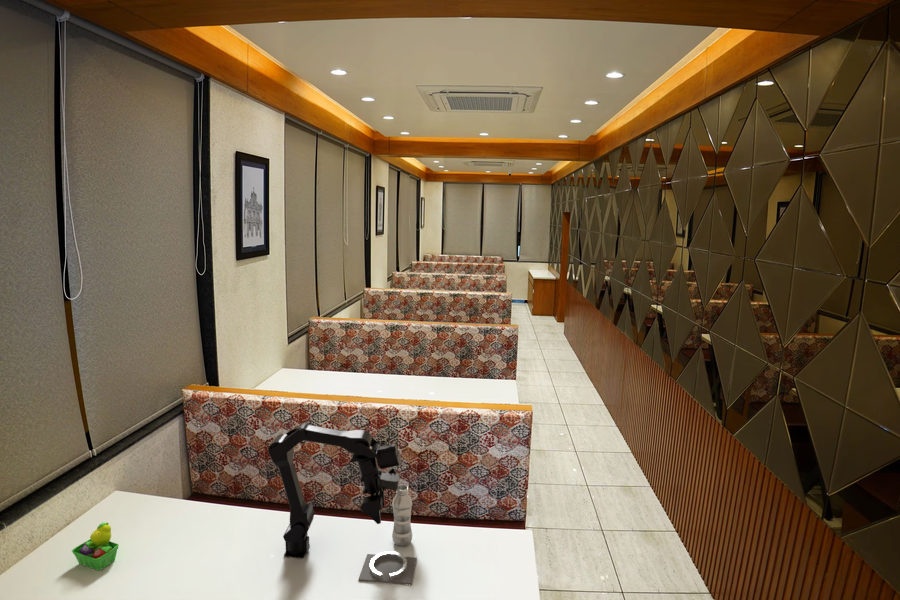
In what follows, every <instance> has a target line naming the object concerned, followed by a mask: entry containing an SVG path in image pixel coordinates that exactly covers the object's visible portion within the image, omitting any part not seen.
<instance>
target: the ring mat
mask: <svg viewBox="0 0 900 600" xmlns="http://www.w3.org/2000/svg"><path fill="white" fill-rule="evenodd" d="M376 555H377V554H370V553H367V554H366V557H365V560H364V561H363V562H364V563H363V565H362V568H361V571H360V573H359V576H358V582H365V583H367V582H369V583H381V584H393V585H394V584H395V585H406V584H408V585H407V586H409V584H410V586H412V584H413V580H414V574H415V572H416V571H415V570H416V565H417V560H418V558H417V557H414V556H404V557H405V558H406V560H407V570H406V573H405V574H404V575H403V576H401V577H400V578H398V579H395V580H392V581H390V580H389V574H391V573H395V572H398V571H399V570H400V569H401V568H402V567H403V564H402V562H401V561H399V560H397V559H395V558H385V559H382V560H379V561H378V562H377V563H376V564H375V565H374V568H375V570H376V571H378V572H380V573H382V579H381V580H379V579H377V578H375V577H373V576H372V574H371V572H370V563H371V560H372V558H374V557H375V556H376Z"/></svg>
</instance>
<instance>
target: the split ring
mask: <svg viewBox="0 0 900 600" xmlns="http://www.w3.org/2000/svg"><path fill="white" fill-rule="evenodd" d="M375 555H376V556H375V557H374V558H372V560H371V563H370V572H371V574H372V576H373V577H375V578H377V579H379V580H381V579H382V573H380V572H378V571H376V570H375V568H374V565H375V564H376V563H377V562H378V561H379V560H382V559H385V558H395V559H397V560H399V561H401V562H402V564H403V567H402V568H401V569H400V570H399V571H398V572H395V573H391V574H389V580H390V581H392V580H395V579H398V578H400V577H401V576H403V575H404V574H405V573H406V570H407V560H406V558H405V557H406V556H405V555H403V554H401V553H400V552H397V551H391V550H390V551H387V550H386V551H384V552H380V553H377V554H375Z"/></svg>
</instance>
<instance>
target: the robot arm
mask: <svg viewBox="0 0 900 600" xmlns="http://www.w3.org/2000/svg"><path fill="white" fill-rule="evenodd" d="M303 441H305V442H306V441H307V442H311V443H317V444H323V445H327V446H334V447H339V448H342V449H344V450H345V451H346V452H349V453H351V454H352V455H351V457H350V460H349V462H350V464H351V463H357V466H358V469H359V475H360V478H359V481H360V483H362V485H363V490H362V491H363V495H366V494H367V495H369V496H364V497H363V498H362V500H361V503H360V505H359V507H360V511H361V513H364V514H366V515H368V516H369V517H370V518H371V519H372V520H373V521H374V522H375V524H377V525H380V524H381V523H382V518H381V510H382V509H383V508H384V507H385V490H391V491H397V489H398V486H399V482H400V474H399V472H398V471H397V469H396V467H397V466H398V467H399V466H401V465H402V457H401V453H400V452H401V451H400V449H399V448H398V446H397V444H396V443H391V444H388V445H383V446H381V443H380V442H379V441H378V440H377V439H375V438H374V437H372V434H371V433H370V431H368V430H365V429H353V430H348V431H347V430H338V429H333V428H327V427H322V426H321V427H320V426H316V425H312V424H311V425H310V424H308V423H307V422H306V423H300V424H299V425H298V426H296V427H295V428H292V429H290V430H288V431H287V432H285V433H280V434H278V435H277V436H275V438H274V439H273V440H272V442H271V444H270V445H269V446H268V450H267V452H268V455H269V457H270V459H271V461H272V464H274V465H275V466H276V467H277V468H278V470H279V471H278V472H279V474H280V477H281V478H280V479H281V481H282V485H283V487H284V491H285V492H284V493H285V494H286V498H287V502H288V505H289V510H290V511H289V524H288V526H287V527H286V530H285V532H284V534H283V536H282V537H283V539H284V541H285V552H284V554H283V557H285V558H298V559H303V558H304V557H305V556H306V554H307V553H308V552H309V549H310V547H311V544H310V536H308V532H309V529H310V528H311V525H312V523H313V521H314V518H315V514H316V512H315V510H314V508H313V503H312V502H310V503H307V502H306V501H305V499H304V496H303V491H302V488H301V485H300V481H299V477H298V475H297V470H296V467H295V466H296V465H295V464H294V454H295V453H294V451H295V447H296V446H298V445H299V444H300V443H301V442H303ZM382 469H388V471H383V470H382Z"/></svg>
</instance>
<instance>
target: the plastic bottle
mask: <svg viewBox="0 0 900 600" xmlns="http://www.w3.org/2000/svg"><path fill="white" fill-rule="evenodd" d="M391 505H392V511H393V512H392V513H393V529H392V537H391V538H392V541H393V543H394V544H395V545H397V546H399V547H406V546H408V545H409V544H410V543H411V542H412V539H413V531H412V530H413V529H412V525H411V516H412V506H413V500H412V497H411V496H410V495H409V486H407V485H406V484H398V489H397V490H396V494H395V496H394V497H393V498H392V503H391Z"/></svg>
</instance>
